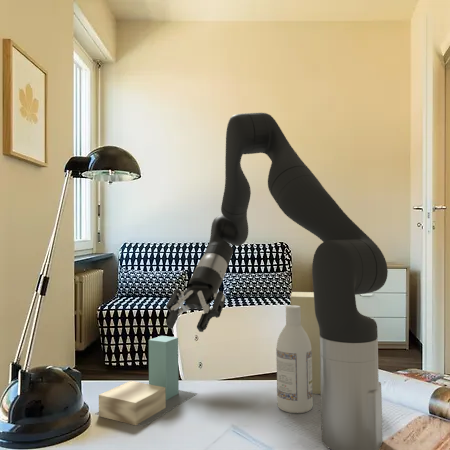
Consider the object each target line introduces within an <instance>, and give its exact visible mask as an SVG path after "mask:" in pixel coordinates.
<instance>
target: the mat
mask: <svg viewBox="0 0 450 450" xmlns="http://www.w3.org/2000/svg"><path fill="white" fill-rule="evenodd" d="M197 394H198V393H196V392H192V391H186V390H181V389H179V393H178V394H177V395H175V396H173V397H171V398H170V399H168V400H166V408H164V409H163V410H161V411H159V412H158V413H156V414H154V415H153V416H151V417H149V418H147V419H146V420H144V421H142V422H141V423H139V424H137V425H136V426H142V427H145V426H147V425H149V424H150V423H151V422H153V421H155V420H157V419H158V418H160V417H162V416H164V415H165V414H167V413H168V412H170V411H171V410H173V409H175V408H177V407H178V406H180V405H182V404H183V403H185V402H186V401H189V400H190V399H191V398H193V397H194V396H196V395H197ZM94 415H98V416H99V411H98V412H96V413H95V414H94Z"/></svg>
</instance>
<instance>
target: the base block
mask: <svg viewBox="0 0 450 450" xmlns="http://www.w3.org/2000/svg"><path fill="white" fill-rule="evenodd" d="M164 408H166V394H165V387H161V386H155V385H150V384H149V383H144V382H138V381H133V380H129V381H127V382H124V383H122V384H121V385H120V384H119V385H118V386H115V387H113V388H110V389H109V390H106V391H105V392H102V393H99V394H98V412H99V415H98V417H101V418H105V419H108V420H109V419H110V420H114V421H116V422H121V423H125V424H128V425H133V426H138V425H137V424H139V423H141V422H142V421H144V420H146V419H147V418H149V417H151V416H153V415H154V414H156V413H158V412H159V411H161V410H163V409H164Z"/></svg>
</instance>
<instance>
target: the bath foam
mask: <svg viewBox="0 0 450 450" xmlns="http://www.w3.org/2000/svg"><path fill="white" fill-rule="evenodd" d="M275 355H276V400H277V403H276V404H277V406H278V408H279V409H280V410H282V411H283V412H285V413H286V412H287V413H291V414H304V413H307V412H309V411H311V410H312V409H313V403H314V401H313V394H312V349H311V343H310V340H309V337H308V335H307V333H306V332H305V330H304V329H303V327H302V326H301V308H300V306H296V305H286V306H285V325H284V327H283V329H282V330H281V331H280V334H279V336H278V338H277V342H276V354H275Z"/></svg>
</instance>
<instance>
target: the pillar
mask: <svg viewBox="0 0 450 450" xmlns="http://www.w3.org/2000/svg"><path fill="white" fill-rule="evenodd" d="M179 383H180V380H179V337H175V336H167V335H159V336H157V337H153V338H150V339H148V384H150V385H155V386H161V387H165V394H166V400H168V399H170V398H171V397H173V396H175V395H177V394H178V393H179V390H180V389H179V388H180V387H179Z"/></svg>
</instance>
